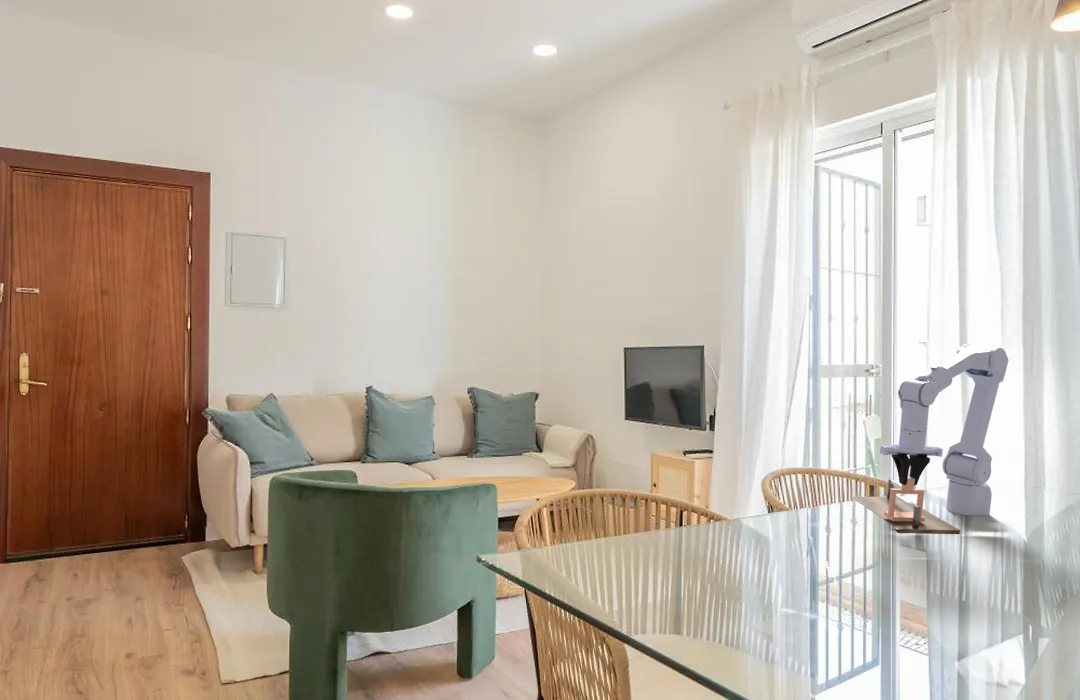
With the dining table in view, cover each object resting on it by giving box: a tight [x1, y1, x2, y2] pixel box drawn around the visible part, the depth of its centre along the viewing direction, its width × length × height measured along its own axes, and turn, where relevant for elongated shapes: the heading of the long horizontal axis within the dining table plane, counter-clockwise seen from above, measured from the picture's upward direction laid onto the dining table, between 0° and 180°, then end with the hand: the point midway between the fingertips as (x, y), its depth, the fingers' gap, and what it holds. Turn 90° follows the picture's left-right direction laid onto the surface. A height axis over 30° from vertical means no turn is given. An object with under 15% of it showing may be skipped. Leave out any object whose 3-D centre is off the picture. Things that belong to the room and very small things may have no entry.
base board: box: [850, 496, 961, 535], centre depth 190 cm, size 15×25×1 cm, turn 4°
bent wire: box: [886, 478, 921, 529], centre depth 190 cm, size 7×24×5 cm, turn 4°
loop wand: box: [884, 475, 925, 522], centre depth 182 cm, size 8×4×10 cm, turn 93°
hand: (908, 484), depth 182 cm, fingers closed on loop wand, 2 cm apart
